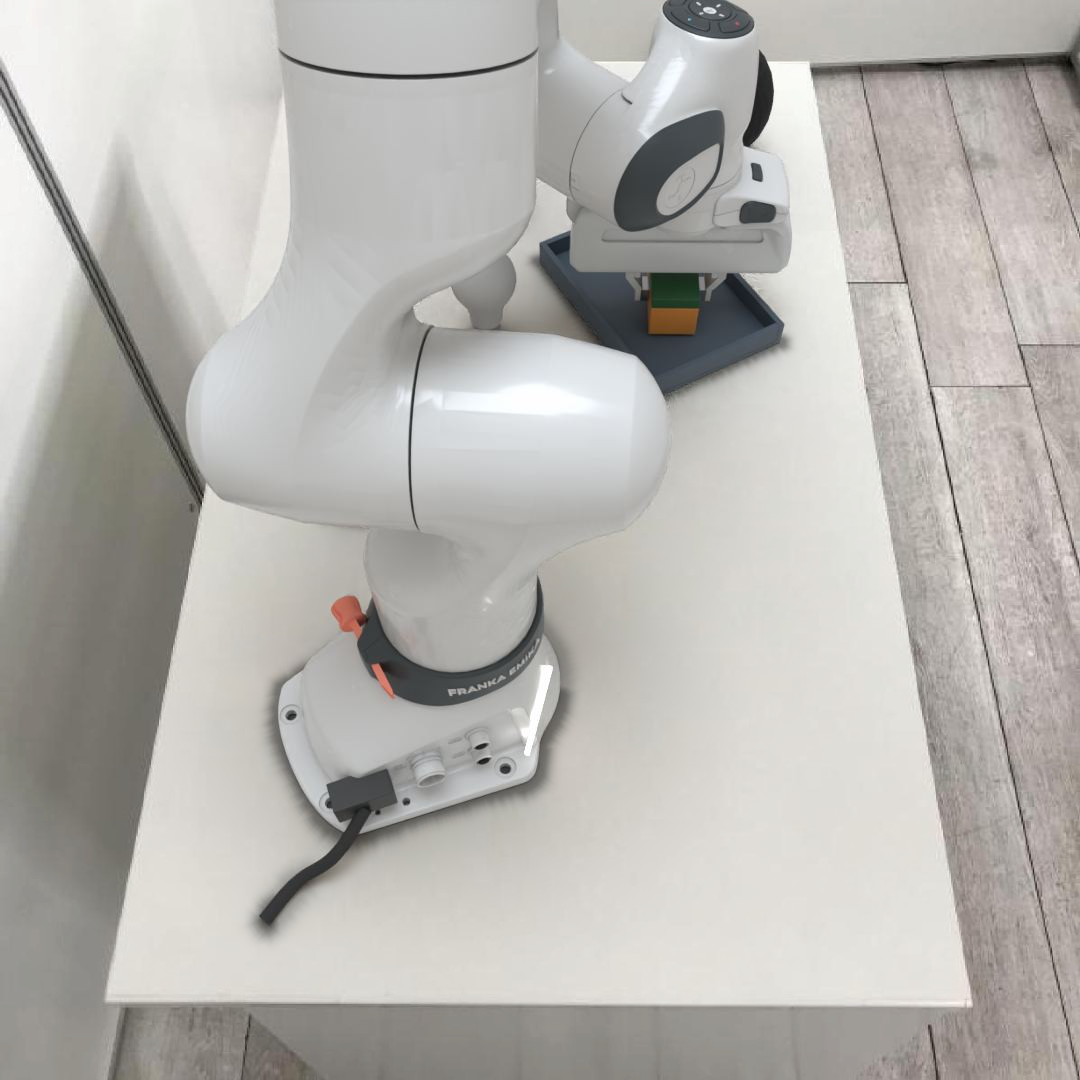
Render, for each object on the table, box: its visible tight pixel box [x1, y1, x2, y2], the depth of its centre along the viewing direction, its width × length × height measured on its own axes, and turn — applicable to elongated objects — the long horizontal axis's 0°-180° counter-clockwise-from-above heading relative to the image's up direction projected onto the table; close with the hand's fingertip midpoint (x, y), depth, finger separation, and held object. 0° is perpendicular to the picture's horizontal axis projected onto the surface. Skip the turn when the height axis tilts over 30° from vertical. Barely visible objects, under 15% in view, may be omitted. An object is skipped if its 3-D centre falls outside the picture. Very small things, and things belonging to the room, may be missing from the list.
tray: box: [538, 229, 785, 396], centre depth 106 cm, size 15×21×3 cm
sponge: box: [647, 273, 700, 334], centre depth 103 cm, size 7×4×5 cm, turn 179°
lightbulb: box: [450, 254, 517, 331], centre depth 100 cm, size 6×6×11 cm
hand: (672, 296), depth 104 cm, fingers closed on sponge, 4 cm apart
